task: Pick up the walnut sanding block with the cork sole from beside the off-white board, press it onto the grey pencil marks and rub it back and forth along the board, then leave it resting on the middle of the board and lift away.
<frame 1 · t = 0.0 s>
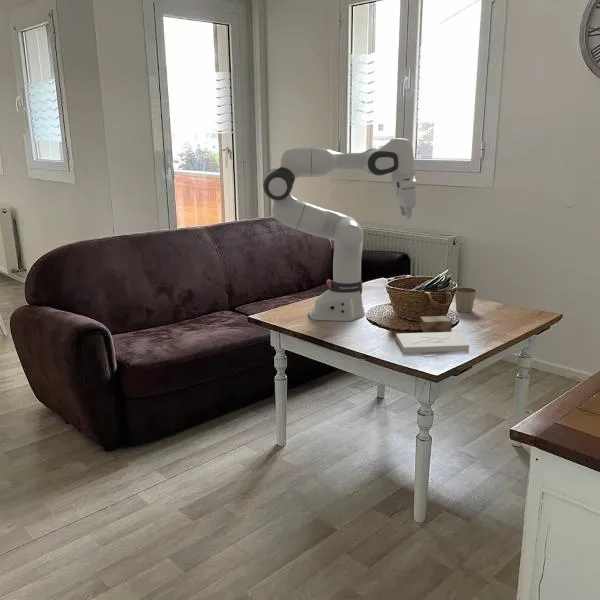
hand: (406, 217, 238), 39 cm above the table, tool pointing down, fingers open, 8 cm apart
sanding block: (435, 331, 226), on the table
marked board: (431, 344, 212), on the table
flower pot: (464, 311, 250), on the table
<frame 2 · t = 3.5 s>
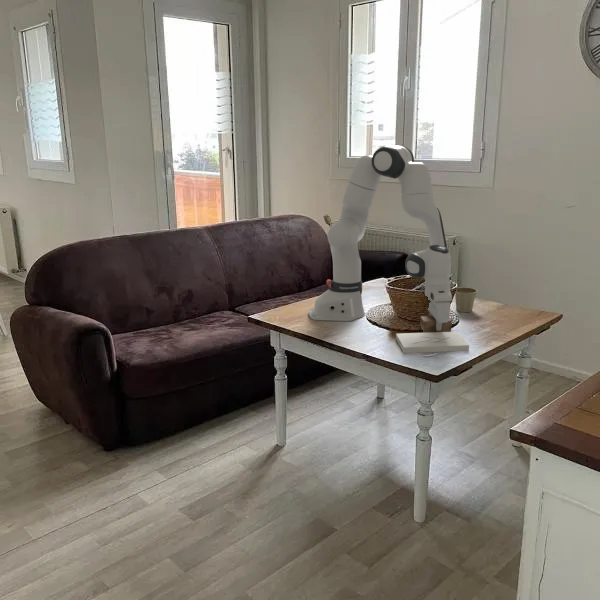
hand: (435, 326, 226), 2 cm above the table, tool pointing down, fingers closed on sanding block, 6 cm apart
sanding block: (435, 331, 226), on the table, touching gripper
everything else where it was.
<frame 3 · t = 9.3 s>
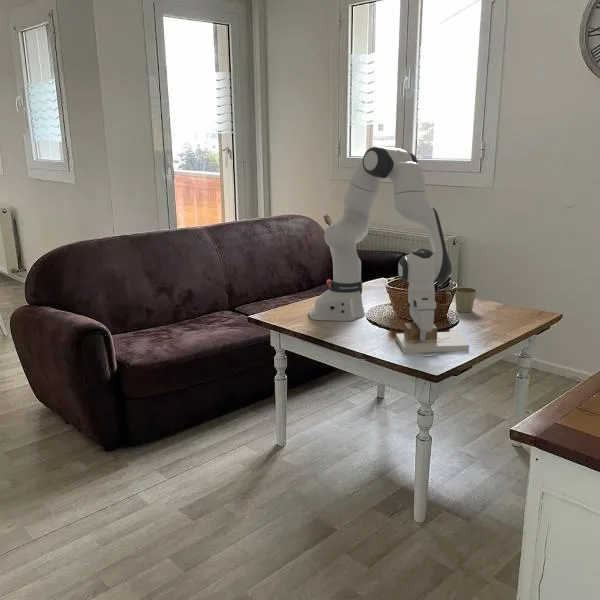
hand: (419, 336, 211), 3 cm above the table, tool pointing down, fingers closed on sanding block, 6 cm apart
sanding block: (420, 339, 212), point 2 cm above the table, touching gripper
everything else where it was.
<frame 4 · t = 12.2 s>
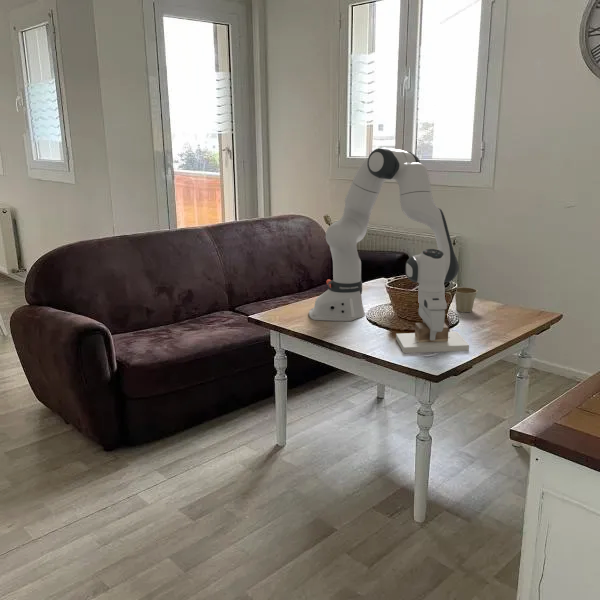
hand: (429, 336, 212), 3 cm above the table, tool pointing down, fingers closed on sanding block, 6 cm apart
sanding block: (431, 338, 212), point 2 cm above the table, touching gripper
everything else where it was.
when the fingers open (3 cm above the table, at t = 14.7 s): sanding block stays where it is, resting on marked board.
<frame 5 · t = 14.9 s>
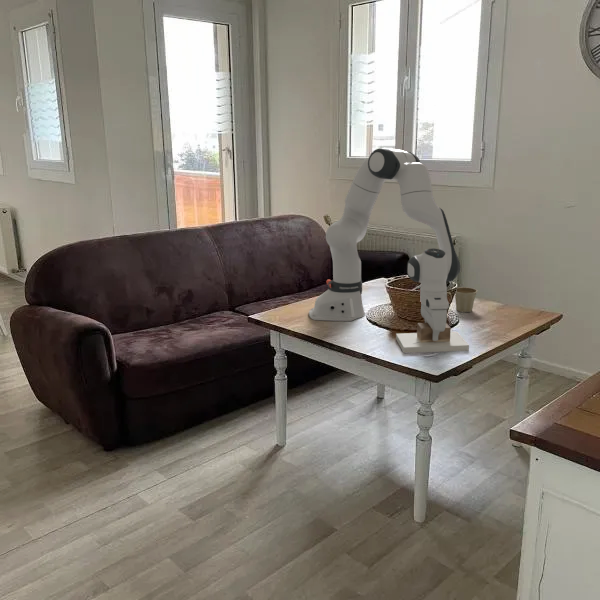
hand: (431, 335, 212), 3 cm above the table, tool pointing down, fingers open, 8 cm apart
sanding block: (433, 339, 212), point 2 cm above the table, touching marked board
everything else where it was.
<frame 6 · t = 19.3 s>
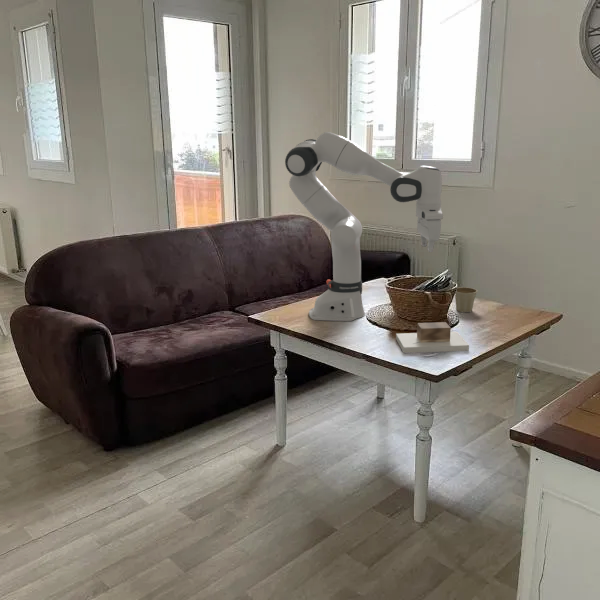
hand: (427, 248, 227), 29 cm above the table, tool pointing down, fingers open, 8 cm apart
nothing on the table moved.
at the end: sanding block inside the target area on the marked board (0.6 cm from its centre), point 2.0 cm above the marked board's base; sanding block tilted 0°; the gripper is holding nothing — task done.
